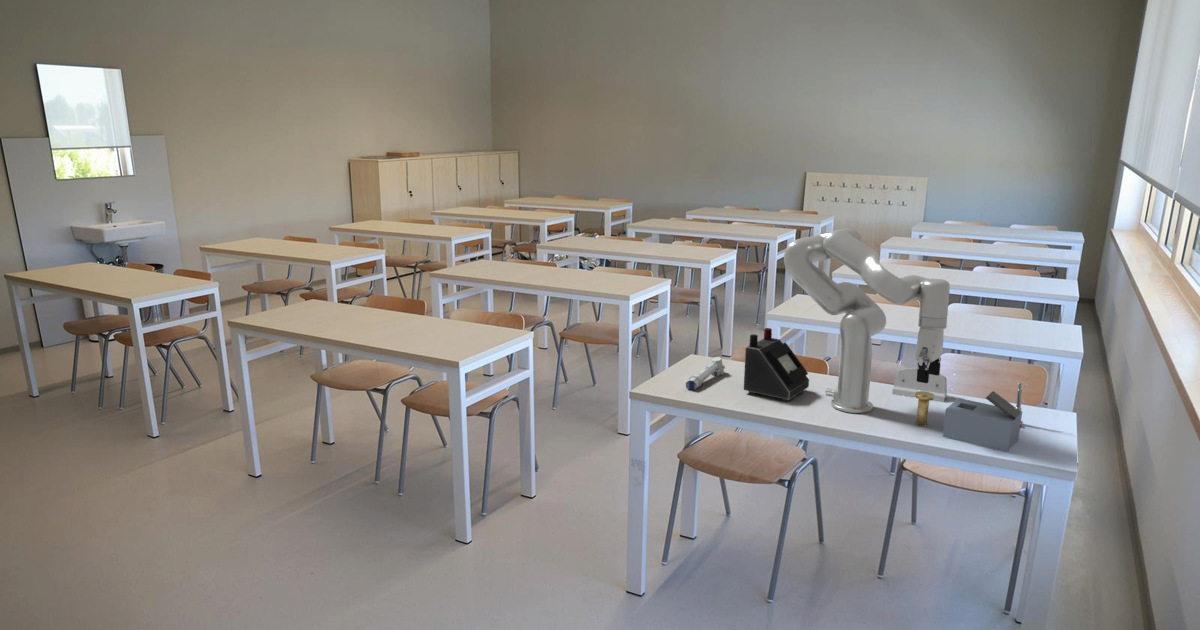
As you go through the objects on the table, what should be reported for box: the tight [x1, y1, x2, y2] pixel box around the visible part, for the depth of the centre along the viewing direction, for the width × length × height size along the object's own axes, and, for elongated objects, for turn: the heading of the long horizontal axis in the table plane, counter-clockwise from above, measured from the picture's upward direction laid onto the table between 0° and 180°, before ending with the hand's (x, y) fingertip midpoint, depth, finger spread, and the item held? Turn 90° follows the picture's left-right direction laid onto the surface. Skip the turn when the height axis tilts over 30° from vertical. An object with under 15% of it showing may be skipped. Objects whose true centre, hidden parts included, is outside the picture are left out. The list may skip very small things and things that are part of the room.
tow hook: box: [1015, 382, 1023, 428], centre depth 232 cm, size 8×13×9 cm
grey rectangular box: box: [942, 398, 1023, 453], centre depth 220 cm, size 17×12×8 cm
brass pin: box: [915, 391, 934, 427], centre depth 230 cm, size 5×5×10 cm
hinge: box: [891, 367, 948, 403], centre depth 256 cm, size 17×5×10 cm, turn 60°
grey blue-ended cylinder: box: [685, 356, 726, 392], centre depth 271 cm, size 5×7×25 cm
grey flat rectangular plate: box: [985, 390, 1022, 420], centre depth 215 cm, size 9×6×1 cm, turn 50°
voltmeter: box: [743, 327, 810, 403], centre depth 257 cm, size 16×16×20 cm
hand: (928, 378), depth 227 cm, fingers open, 9 cm apart
